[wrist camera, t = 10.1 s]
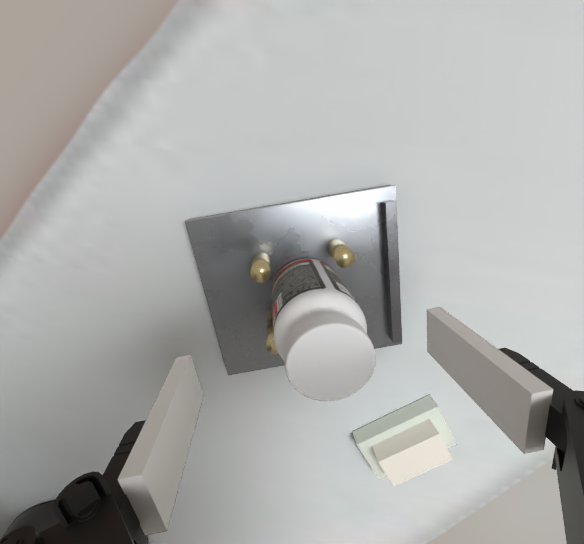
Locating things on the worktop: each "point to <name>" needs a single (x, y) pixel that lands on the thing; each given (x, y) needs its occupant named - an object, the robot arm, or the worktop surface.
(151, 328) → the worktop surface
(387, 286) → the plate
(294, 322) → the pill bottle
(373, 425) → the soap dish
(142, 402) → the worktop surface
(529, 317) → the worktop surface
